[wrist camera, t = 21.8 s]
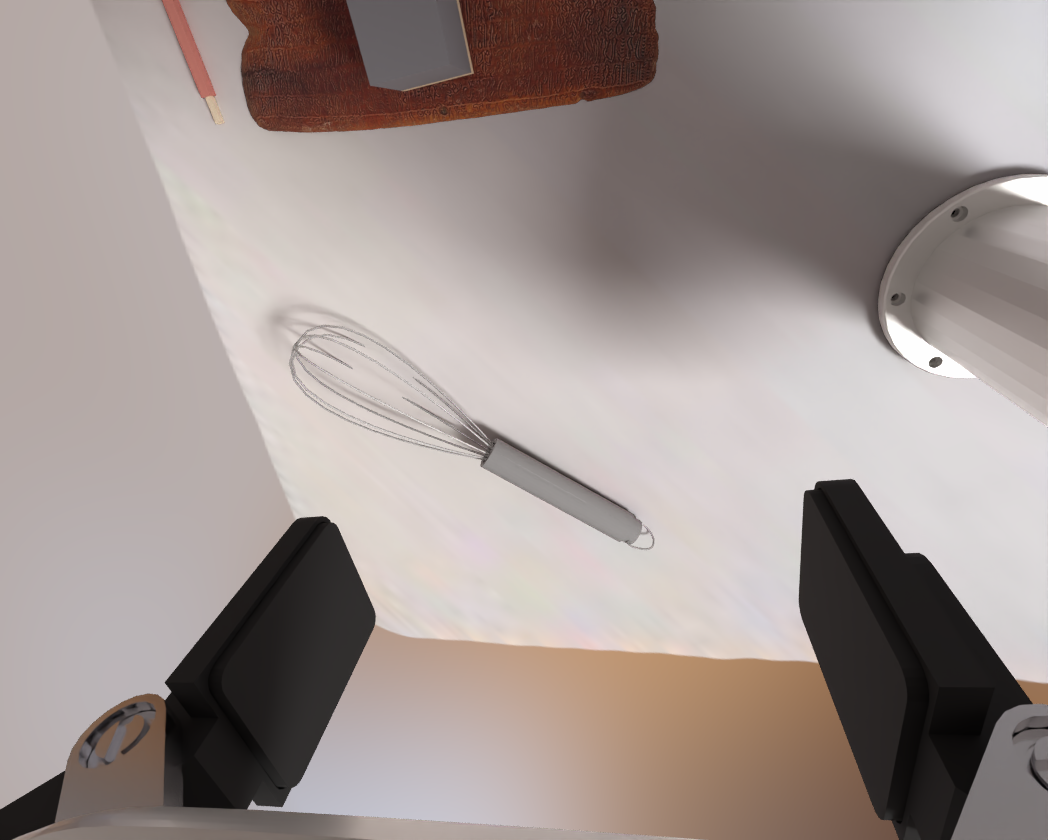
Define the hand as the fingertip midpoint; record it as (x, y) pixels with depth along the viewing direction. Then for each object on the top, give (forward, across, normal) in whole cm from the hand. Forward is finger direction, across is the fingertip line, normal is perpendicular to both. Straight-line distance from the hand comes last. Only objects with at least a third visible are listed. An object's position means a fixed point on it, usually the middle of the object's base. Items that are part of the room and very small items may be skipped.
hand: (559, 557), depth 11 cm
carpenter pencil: (+31, +24, -19) cm, 43 cm away
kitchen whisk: (+31, +11, +13) cm, 35 cm away
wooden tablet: (+31, +8, -14) cm, 35 cm away
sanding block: (+29, +8, -16) cm, 34 cm away
